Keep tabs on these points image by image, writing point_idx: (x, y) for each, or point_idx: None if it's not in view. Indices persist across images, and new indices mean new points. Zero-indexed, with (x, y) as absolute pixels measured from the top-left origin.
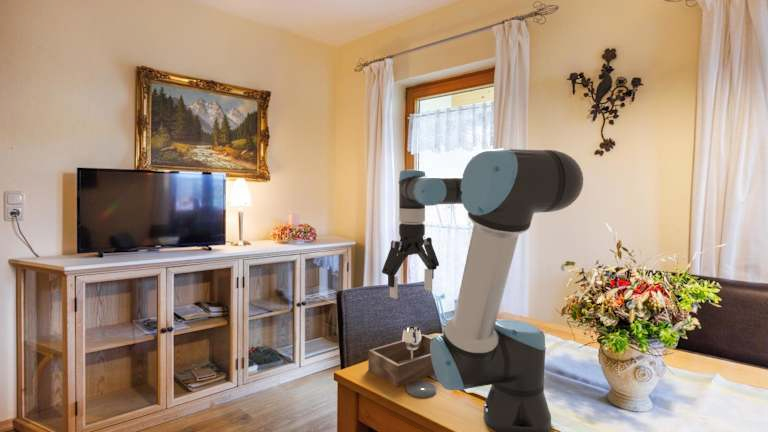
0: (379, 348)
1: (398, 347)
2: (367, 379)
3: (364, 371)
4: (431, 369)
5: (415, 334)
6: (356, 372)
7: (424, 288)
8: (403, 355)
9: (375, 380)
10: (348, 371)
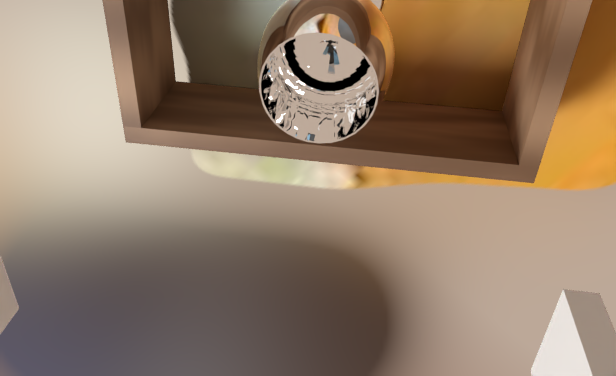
0: (471, 160)
1: None
2: (607, 54)
3: None
4: None
5: (341, 24)
6: (576, 142)
7: (12, 315)
8: None
9: (591, 18)
10: (591, 172)
